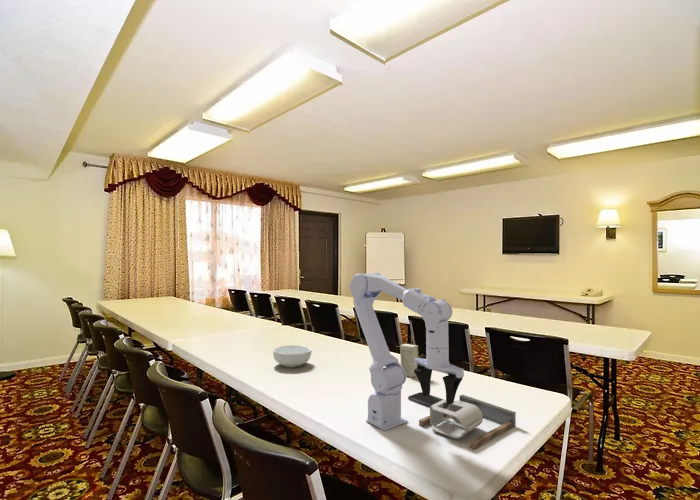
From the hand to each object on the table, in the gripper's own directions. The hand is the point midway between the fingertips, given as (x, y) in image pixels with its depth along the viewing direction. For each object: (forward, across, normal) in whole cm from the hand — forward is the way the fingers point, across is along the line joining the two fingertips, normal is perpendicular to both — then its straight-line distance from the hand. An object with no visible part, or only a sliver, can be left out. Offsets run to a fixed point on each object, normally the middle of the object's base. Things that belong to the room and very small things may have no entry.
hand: (437, 399), depth 95 cm
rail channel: (+11, 0, -14) cm, 17 cm away
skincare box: (+10, +42, -36) cm, 57 cm away
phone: (+11, +17, -19) cm, 28 cm away
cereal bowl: (+10, +84, -6) cm, 85 cm away
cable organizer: (+11, +1, -9) cm, 14 cm away
